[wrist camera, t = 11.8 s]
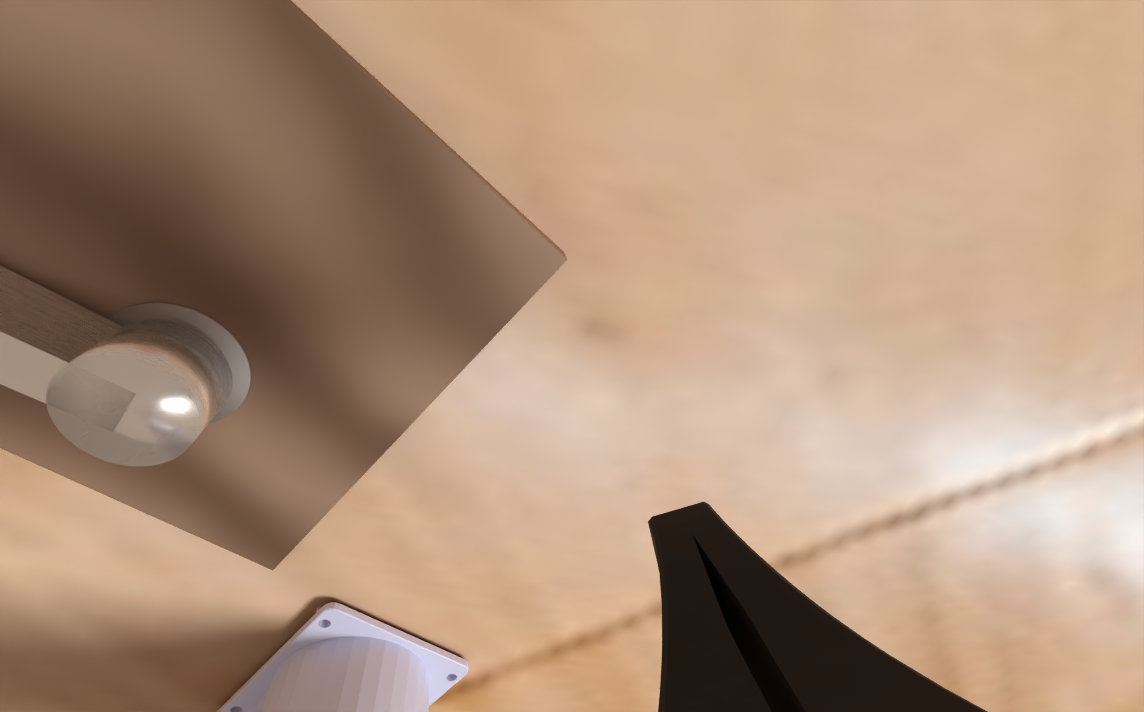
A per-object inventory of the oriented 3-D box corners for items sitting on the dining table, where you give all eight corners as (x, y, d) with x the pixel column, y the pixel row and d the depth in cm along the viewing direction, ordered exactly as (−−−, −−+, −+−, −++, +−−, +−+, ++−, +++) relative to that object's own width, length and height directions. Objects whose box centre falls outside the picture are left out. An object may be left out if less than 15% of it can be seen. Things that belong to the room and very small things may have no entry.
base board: (280, 551, 22) (251, 620, 19) (-232, 311, 16) (-394, 362, 13) (563, 251, 19) (578, 281, 16) (43, -228, 12) (-98, -331, 9)
